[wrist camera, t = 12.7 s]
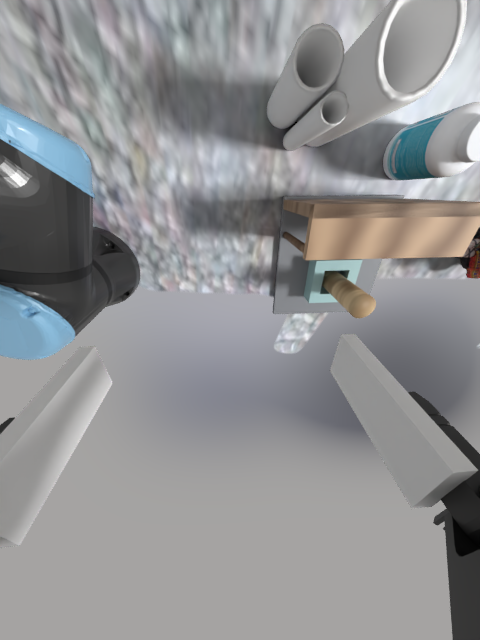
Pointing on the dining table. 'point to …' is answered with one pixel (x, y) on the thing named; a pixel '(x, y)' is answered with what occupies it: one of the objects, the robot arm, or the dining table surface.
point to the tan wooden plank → (384, 228)
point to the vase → (364, 70)
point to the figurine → (472, 257)
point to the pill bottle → (435, 145)
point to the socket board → (299, 264)
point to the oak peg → (348, 294)
